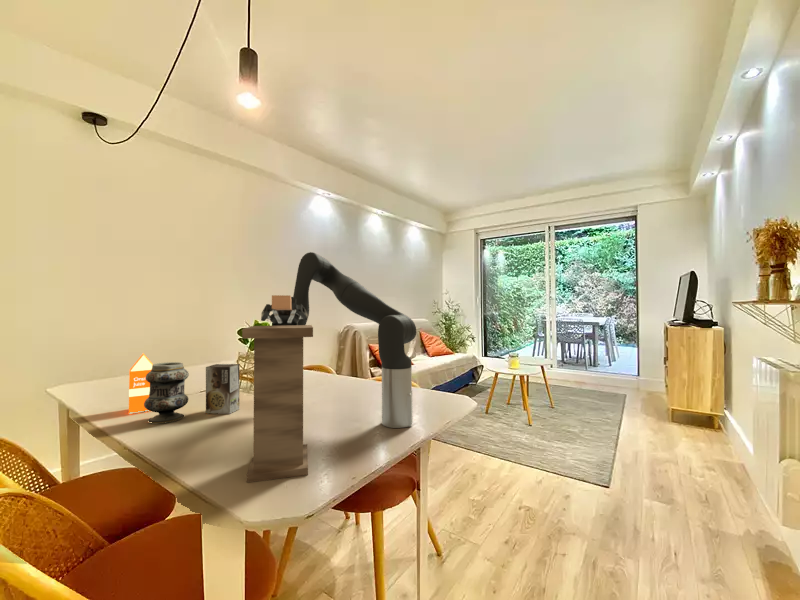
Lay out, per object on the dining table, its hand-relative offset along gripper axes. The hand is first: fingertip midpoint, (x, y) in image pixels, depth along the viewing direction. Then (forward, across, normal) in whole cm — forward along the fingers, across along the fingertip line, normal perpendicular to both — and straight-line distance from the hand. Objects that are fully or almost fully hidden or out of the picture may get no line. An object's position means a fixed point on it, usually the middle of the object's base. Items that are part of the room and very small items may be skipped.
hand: (283, 299), depth 100 cm
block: (+5, 0, -6) cm, 8 cm away
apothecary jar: (-43, +37, -19) cm, 60 cm away
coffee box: (-48, +21, -16) cm, 55 cm away
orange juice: (-57, +49, -11) cm, 76 cm away
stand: (-3, 0, -42) cm, 42 cm away
